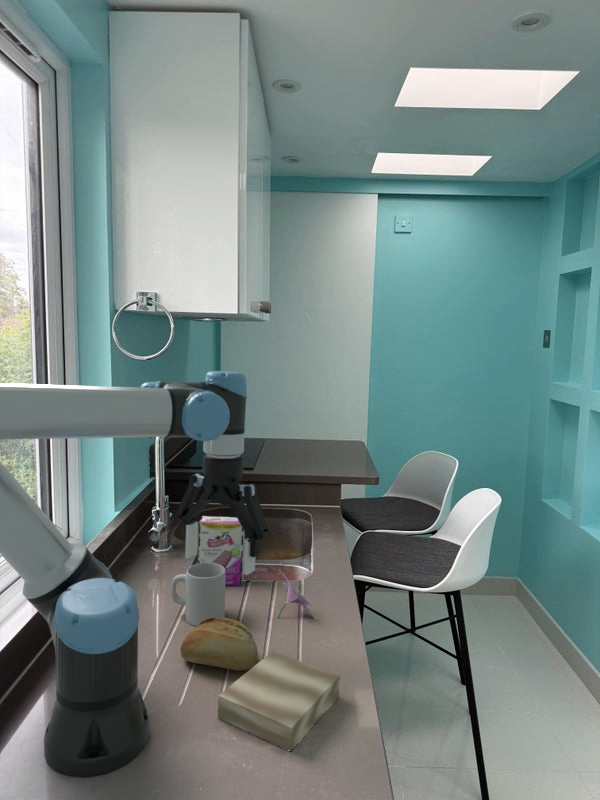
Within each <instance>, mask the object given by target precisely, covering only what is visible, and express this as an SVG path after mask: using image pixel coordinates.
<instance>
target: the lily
mask: <svg viewBox="0 0 600 800" xmlns="http://www.w3.org/2000/svg"><path fill="white" fill-rule="evenodd" d="M277 569H278V571H279V572H280V574H281V575H282V576H283V578H284V580H285V581H286V583H285V582H282V585H284V587H285V588H286V593H287V594H286V602H285V604H284V605H283V606H282V608H281V610H280V612H279V614H278V615H277V619H279V618H280V616H281V614H282V612H283V610H284V609H285V608H286V606H287V604H288V603H290V604H296V605H299V606H302V608H304V609H305V610H306V611H307V612H308V613H309V615H310V616H311V617H312V618H314V616H313V614H312V613H311V611H310V609H308V607H307V606H309V607H312V608H314V607H313V605H312V603H310V601H309V600H308V599H307V598H306V597H305V596H304V595H303V594H302V593H301V592H302V591H303V590H302V589H298V591H296V589H295V587H294V586H293V585H292V584H291V582H290V580H289V579H288V578H287V576H286V574H284V573H283V572H282V570H281V569H279V568H277Z"/></svg>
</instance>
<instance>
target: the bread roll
mask: <svg viewBox="0 0 600 800" xmlns="http://www.w3.org/2000/svg"><path fill="white" fill-rule="evenodd" d="M180 655H181V657H182V659H184V661H186V662H189V663H194V664H199V665H200V664H201V665H203V666H204V665H205V666H211V667H216V668H222V669H227V670H232V671H237V672H246V671H249V670H250V669H251V668H253V667H254V666H255V665H256V664H257V662H259V661H258V659H259V652H258V646H257V644H256V641H255V638H254V636H253V635H252V632H251V631H250V629H249V628H248V627H247V626H246V625H245V624H243V622H241V621H238V620H236V619H234V618H233V619H232V618H229V617H224V618H222V617H214V618H210V619H206V620H205V621H202V622H201V623H200V624H199V625H198V626H194V628H193V629H191V630H190V632H189V633H188V634H187V635H186V637H184V639H183V641H182V643H181V646H180Z"/></svg>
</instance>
